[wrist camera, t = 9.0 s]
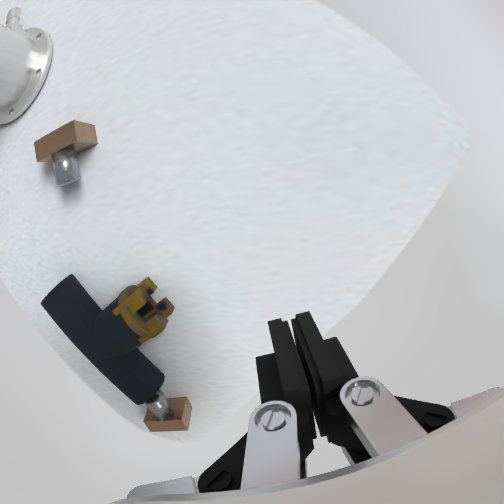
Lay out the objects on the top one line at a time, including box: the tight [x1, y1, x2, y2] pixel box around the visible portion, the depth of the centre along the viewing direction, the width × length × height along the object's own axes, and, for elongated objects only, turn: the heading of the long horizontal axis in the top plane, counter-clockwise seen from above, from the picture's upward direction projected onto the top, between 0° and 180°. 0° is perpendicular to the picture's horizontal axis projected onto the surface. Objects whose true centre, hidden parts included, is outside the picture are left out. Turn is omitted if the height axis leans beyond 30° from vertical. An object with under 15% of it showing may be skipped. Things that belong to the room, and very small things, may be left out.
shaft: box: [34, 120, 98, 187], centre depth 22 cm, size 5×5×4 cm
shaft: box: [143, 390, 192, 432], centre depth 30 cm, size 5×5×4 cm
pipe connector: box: [41, 274, 175, 405], centre depth 27 cm, size 12×5×15 cm
